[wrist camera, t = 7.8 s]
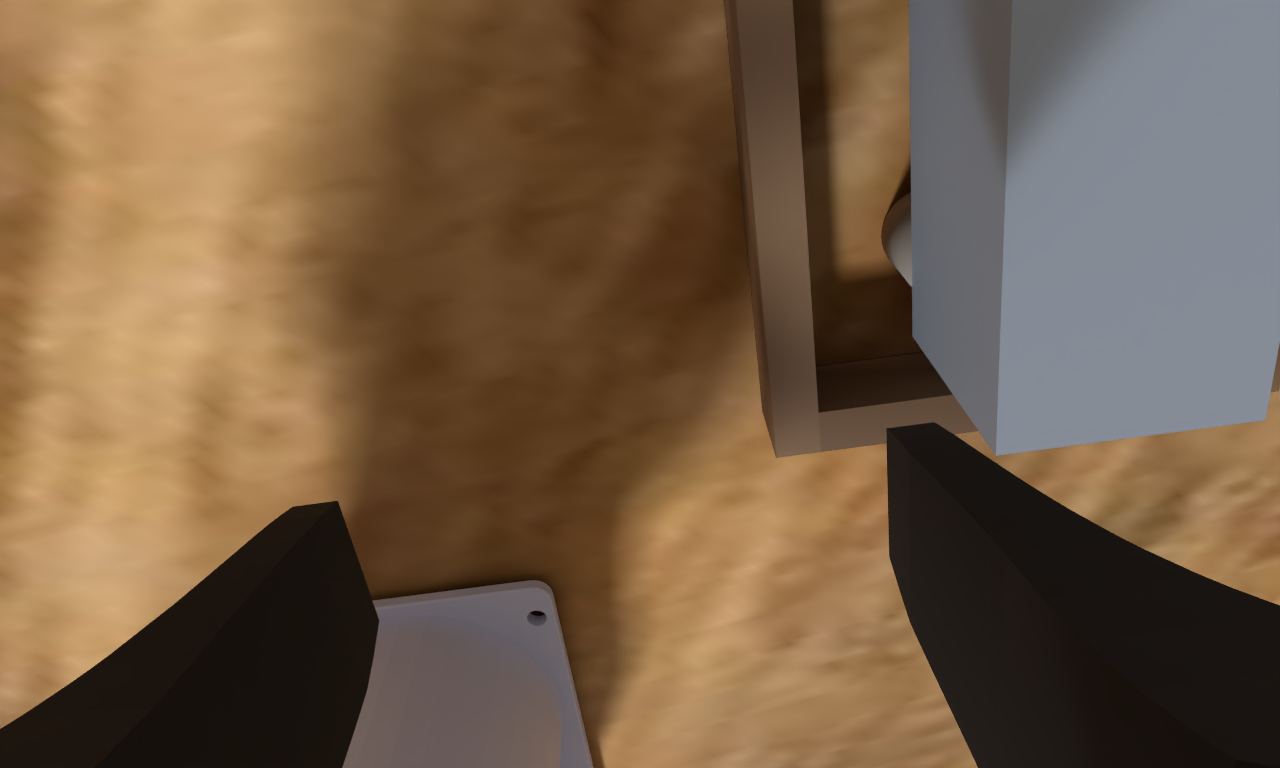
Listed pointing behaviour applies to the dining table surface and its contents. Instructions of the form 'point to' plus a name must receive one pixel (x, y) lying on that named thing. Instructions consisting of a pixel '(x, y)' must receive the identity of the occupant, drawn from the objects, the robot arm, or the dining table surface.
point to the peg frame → (779, 266)
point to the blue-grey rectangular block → (1096, 213)
